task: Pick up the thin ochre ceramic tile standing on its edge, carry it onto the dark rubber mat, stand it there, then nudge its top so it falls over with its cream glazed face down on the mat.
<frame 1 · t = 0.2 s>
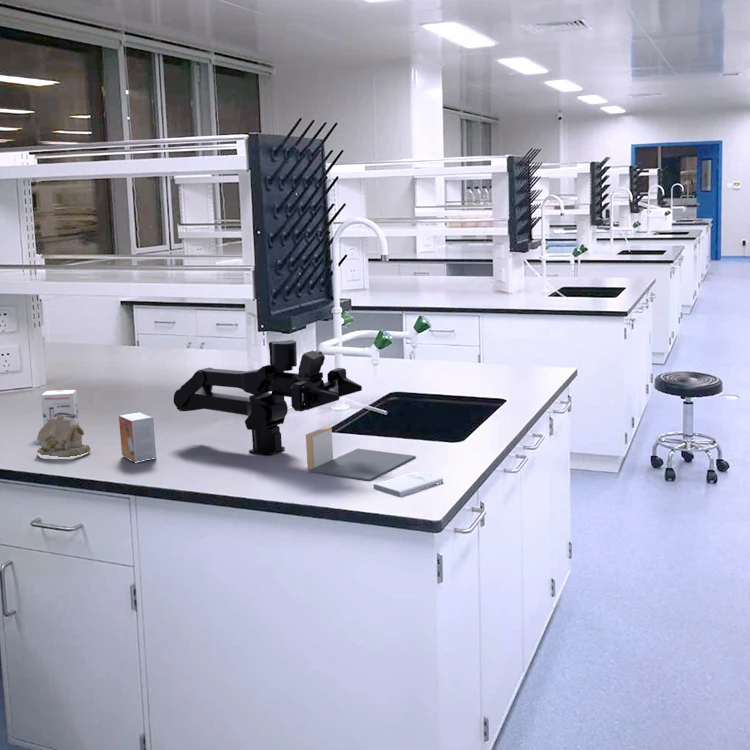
hand: (350, 392, 202), 17 cm above the countertop, tool horizontal, fingers open, 9 cm apart
ceramic model: (64, 455, 224), on the countertop
tile: (321, 464, 205), on the countertop
ink box: (62, 434, 245), on the countertop
mat: (363, 464, 204), on the countertop
small box: (139, 459, 217), on the countertop
external hard drive: (408, 488, 188), on the countertop
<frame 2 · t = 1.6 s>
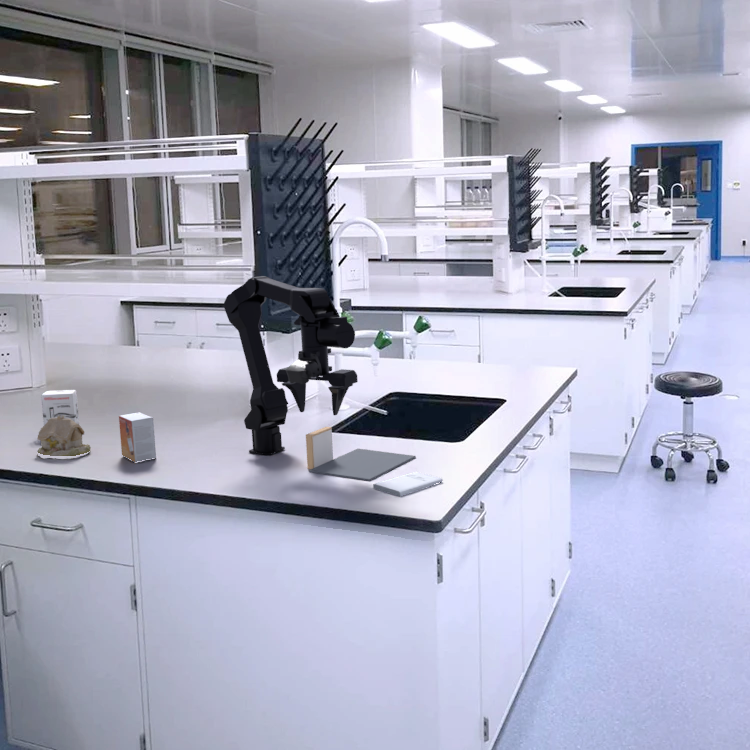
hand: (318, 413, 203), 12 cm above the countertop, tool pointing down, fingers open, 9 cm apart
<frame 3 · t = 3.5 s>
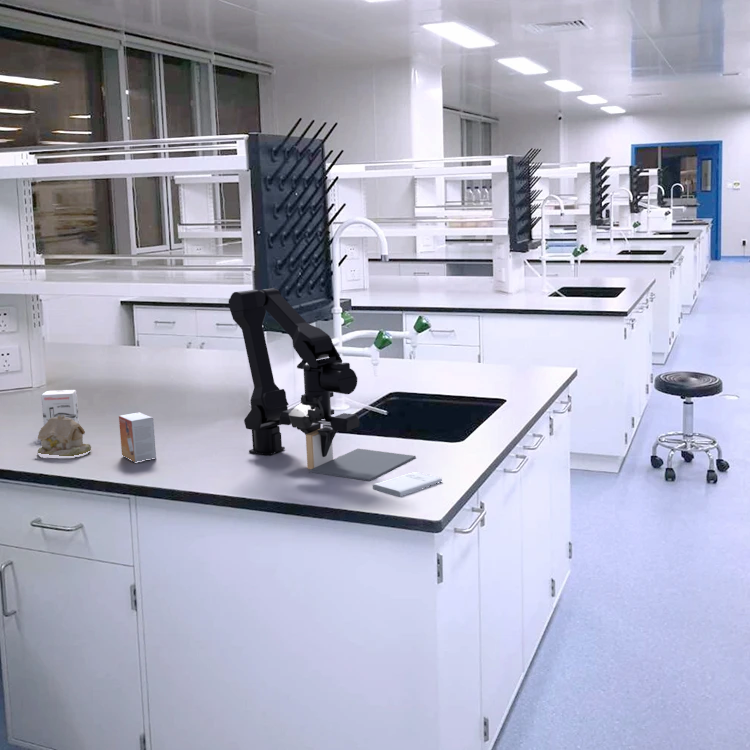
hand: (320, 456, 205), 2 cm above the countertop, tool pointing down, fingers closed on tile, 2 cm apart
tile: (321, 464, 205), on the countertop, touching gripper
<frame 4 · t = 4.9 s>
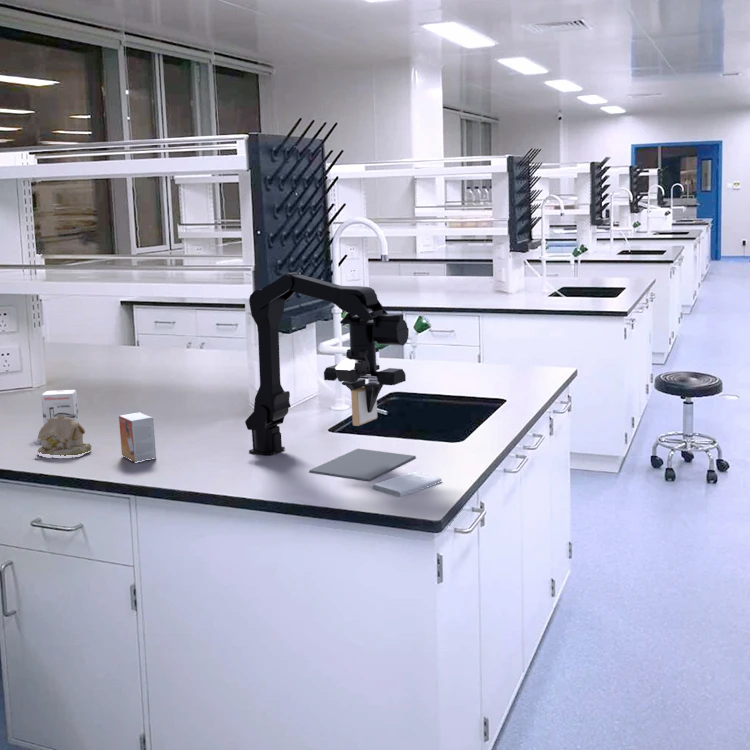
hand: (365, 411, 203), 12 cm above the countertop, tool pointing down, fingers closed on tile
tile: (365, 421, 204), point 10 cm above the countertop, touching gripper
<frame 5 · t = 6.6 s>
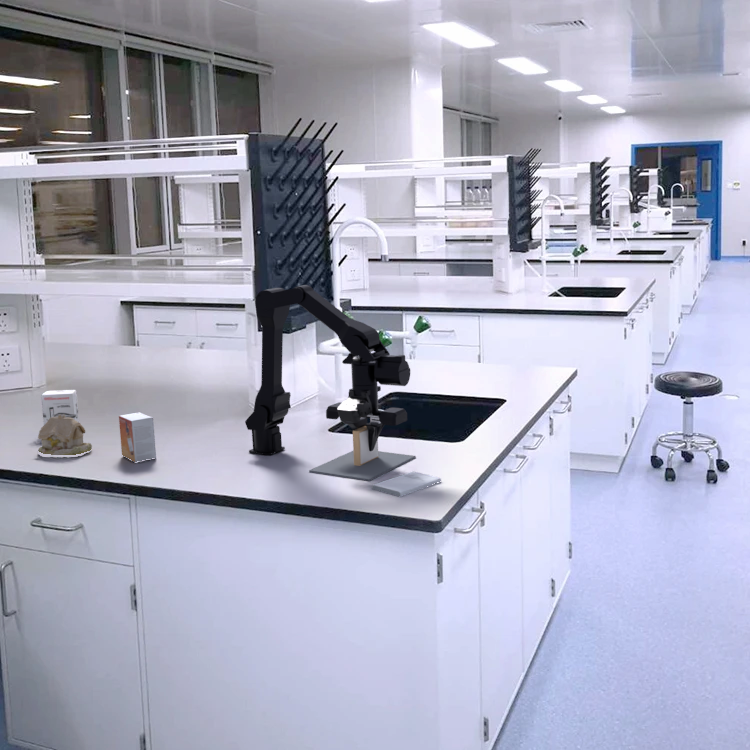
hand: (367, 450, 205), 3 cm above the countertop, tool pointing down, fingers closed on tile, 2 cm apart
tile: (366, 461, 205), resting on mat, touching gripper
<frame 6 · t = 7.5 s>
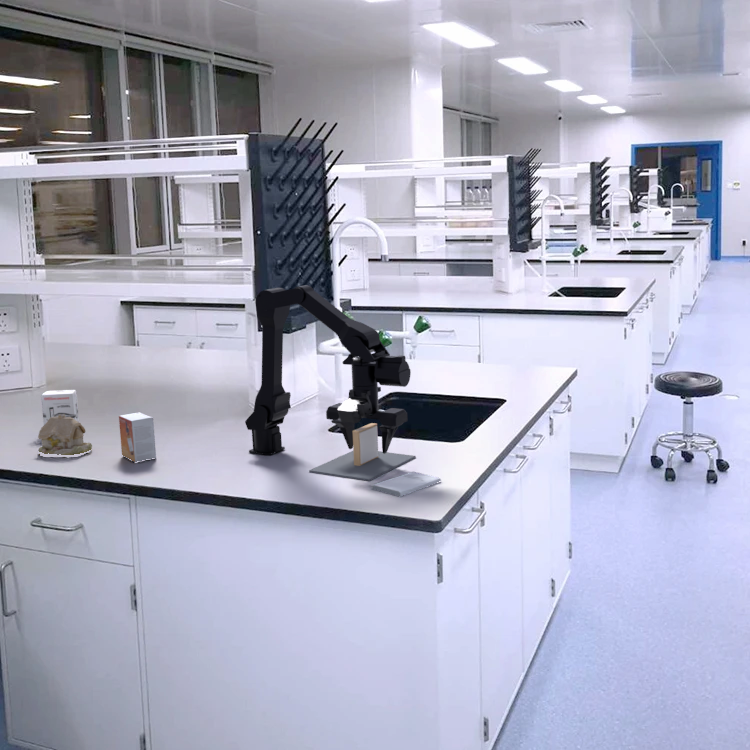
hand: (367, 450, 205), 3 cm above the countertop, tool pointing down, fingers open, 9 cm apart
tile: (366, 461, 205), resting on mat
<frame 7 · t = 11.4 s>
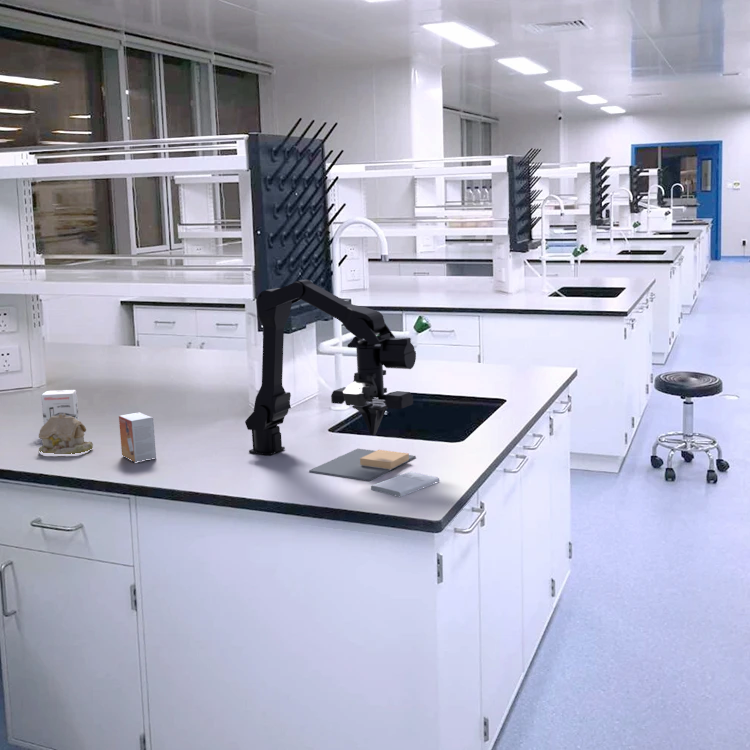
hand: (373, 434, 203), 7 cm above the countertop, tool pointing down, fingers closed
tile: (369, 457, 204), point 1 cm above the countertop, tilted 90°, touching mat
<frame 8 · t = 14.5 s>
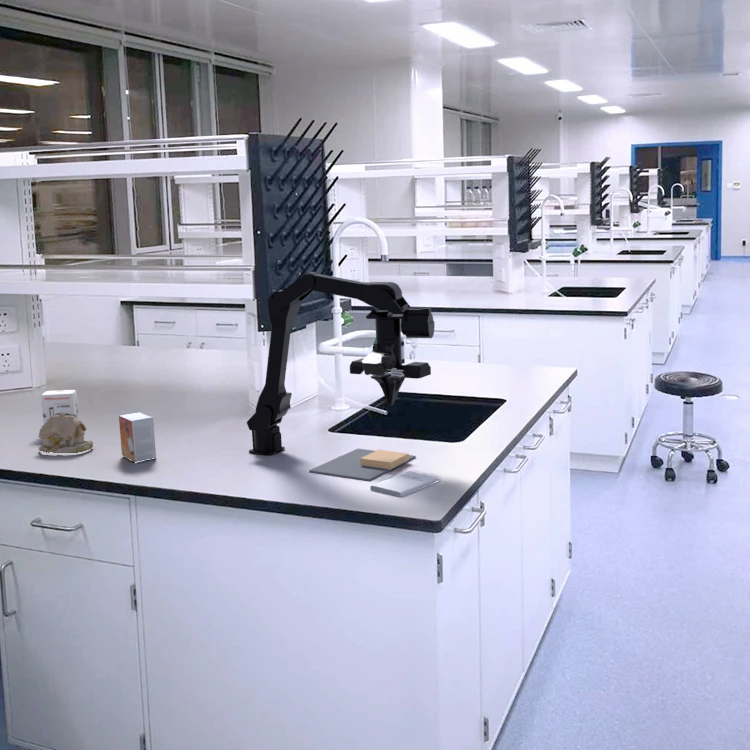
hand: (390, 405, 207), 12 cm above the countertop, tool pointing down, fingers closed
at the end: tile tilted 90°; tile inside the target area (1.6 cm from its centre), point 1.3 cm above the countertop; the gripper is holding nothing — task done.
